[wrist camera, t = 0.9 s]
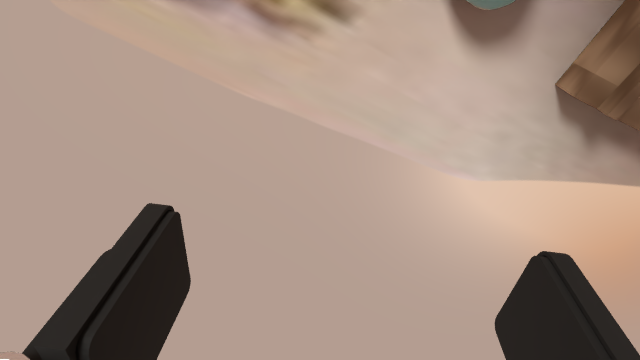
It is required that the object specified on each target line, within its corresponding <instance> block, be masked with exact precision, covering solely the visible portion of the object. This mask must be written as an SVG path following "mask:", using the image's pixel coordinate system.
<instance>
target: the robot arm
mask: <svg viewBox="0 0 640 360" xmlns="http://www.w3.org/2000/svg"><path fill="white" fill-rule="evenodd" d="M190 282H191V280H190V273H189V267H188V262H187V255H186V249H185V242H184V236H183V230H182V224H181V218H180V214H179V213H178V212H174V209H173V207H172V206H168V205H160V204H152V203H149V204H147V205H146V206H145V207H144V209H143V210H142V211H141V212H140V213H139V215H138V216H137V217H136V218H135V220H134V221H133V222H132V224H131V225H130V226H129V227H128V229H127V230H126V231H125V232H124V234H123V235H122V236H121V237H120V239H119V240H118V241H117V242H116V244H115V245H114V246H113V247H112V249H110V250H108V251H106V252H105V253H103V255H102V256H100V258H99V259H98V260H97V261H96V263H95V264H94V265H93V266H92V267H91V269H90V270H89V271H88V272H87V274H86V275H85V276H84V277H83V279H82V280H81V281H80V282H79V284H78V285H77V286H76V287H75V288H74V290H73V291H72V292H71V293H70V295H69V296H68V297H67V298H66V300H65V301H64V302H63V303H62V305H61V306H60V307H59V308H58V309H57V311H56V312H55V313H54V315H53V316H52V317H51V318H50V319H49V320H48V322H47V323H46V324H45V325H44V327H43V328H42V329H41V330H40V332H39V333H38V334H37V335H36V337H35V338H34V339H33V340H32V341H31V343H30V344H29V345H28V346H27V348H26V349H25V350H24V352H23V353H22V354H21V353H16V352H2V353H0V360H157V357H158V355H159V353H160V351H161V349H162V347H163V344H164V343H165V340H166V339H167V336H168V334H169V332H170V330H171V328H172V326H173V323H174V322H175V320H176V317H177V315H178V313H179V311H180V309H181V307H182V305H183V303H184V301H185V298H186V296H187V294H188V292H189V288H190ZM495 330H496V334H497V336H498V339H499V342H500V345H501V347H502V350H503V353H504V355H505V358H506V360H640V355H639V354H638V352H637V351H636V349H635V348H634V347H633V345H632V344H631V342H630V341H629V339H628V338H627V337H626V335H625V334H624V332H623V331H622V329H621V328H620V326H619V325H618V324H617V322H616V321H615V319H614V318H613V316H612V315H611V313H610V312H609V311H608V309H607V308H606V306H605V305H604V304H603V302H602V300H601V299H600V298H599V296H598V295H597V294H596V292H595V291H594V289H593V288H592V286H591V285H590V283H589V282H588V280H587V279H586V278H585V276H584V275H583V273H582V272H581V270H580V269H579V267H578V266H577V265H576V263H575V262H574V260H573V259H572V258H571V257H570V256H569V255H567V254H563V253H555V252H547V251H542V252H540V253H539V254H538V255H537V256H533V257H532V258H531V259H530V261H529V263H528V265H527V266H526V268H525V270H524V271H523V273H522V275H521V276H520V278H519V280H518V282H517V283H516V285H515V287H514V288H513V290H512V291H511V293H510V295H509V297H508V298H507V300H506V302H505V303H504V305H503V307H502V308H501V310H500V312H499V313H498V315H497V317H496V319H495Z"/></svg>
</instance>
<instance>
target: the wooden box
mask: <svg viewBox="0 0 640 360" xmlns="http://www.w3.org/2000/svg"><path fill="white" fill-rule="evenodd" d="M555 85H557V86H558V87H560V88H561V89H563V90H564V91H566V92H567V93H568V94H570V95H571V96H573V97H575V98H576V99H578V100H580V101H582V102H584V103H586V104H588V105H590V106H592V107H594V108H596V109H598V110H599V111H601V112H602V113H604V114H605V115H607V116H609V117H611V118H612V119H614V120H619V121H621V122H623V123H625V124H627V125H629V126H631V127H633V128H635V129H637V130H639V131H640V98H639V97H640V0H625V1H624V3H623V4H622V5H621V6H620V7H619V9H618V10H617V11H616V12H615V13H614V15H613V16H612V17H611V18H610V19H609V21H608V22H607V23H606V24H605V25H604V27H603V28H602V29H601V30H600V31H599V33H598V34H597V35H596V36H595V37H594V38H593V40H592V41H591V42H590V43H589V44H588V46H587V47H586V48H585V49H584V50H583V52H582V53H581V54H580V55H579V56H578V58H577V59H576V60H575V61H574V62H573V64H572V65H571V66H570V67H569V68H568V70H567V71H566V72H565V73H564V74H563V76H562V77H561V78H560V79H559V80H558V82H557V83H556V84H555Z"/></svg>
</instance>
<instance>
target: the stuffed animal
mask: <svg viewBox="0 0 640 360" xmlns="http://www.w3.org/2000/svg"><path fill="white" fill-rule="evenodd" d="M466 1H468V2H469V3H471V4H472V5H473V6H475V7H477V8H479V9H483V10H492V9H498V8H501V7H503V6H506V5H509V4H511V3H512V2H514V1H515V0H466Z"/></svg>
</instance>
